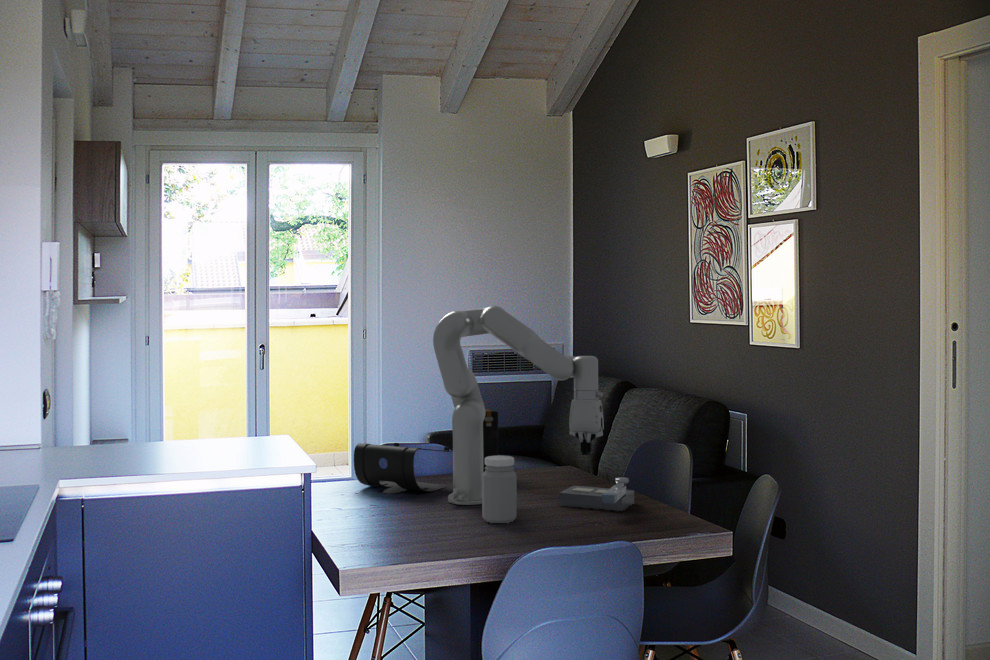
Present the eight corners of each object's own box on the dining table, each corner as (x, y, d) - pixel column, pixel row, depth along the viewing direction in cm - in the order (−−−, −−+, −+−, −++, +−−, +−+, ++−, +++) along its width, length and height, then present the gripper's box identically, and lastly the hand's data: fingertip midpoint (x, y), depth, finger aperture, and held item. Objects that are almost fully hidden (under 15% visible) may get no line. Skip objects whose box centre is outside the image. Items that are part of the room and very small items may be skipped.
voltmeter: (461, 474, 330) (461, 406, 330) (482, 473, 334) (483, 406, 333) (478, 482, 316) (478, 411, 315) (500, 480, 319) (500, 409, 319)
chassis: (621, 511, 268) (622, 488, 268) (559, 505, 276) (559, 482, 276) (634, 503, 279) (634, 481, 279) (573, 497, 288) (573, 476, 288)
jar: (522, 519, 257) (522, 456, 257) (505, 526, 249) (505, 461, 248) (493, 515, 262) (493, 454, 262) (475, 522, 254) (475, 458, 253)
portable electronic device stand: (351, 490, 299) (351, 444, 299) (391, 479, 320) (391, 436, 320) (415, 498, 288) (415, 449, 287) (453, 486, 308) (453, 440, 308)
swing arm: (629, 490, 275) (629, 477, 275) (615, 503, 256) (615, 489, 256) (616, 489, 277) (616, 477, 277) (601, 502, 258) (601, 488, 258)
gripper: (612, 395, 279) (612, 454, 279) (567, 393, 285) (567, 451, 286) (605, 397, 272) (605, 457, 273) (559, 395, 279) (559, 454, 279)
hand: (586, 454), depth 279 cm, fingers closed
